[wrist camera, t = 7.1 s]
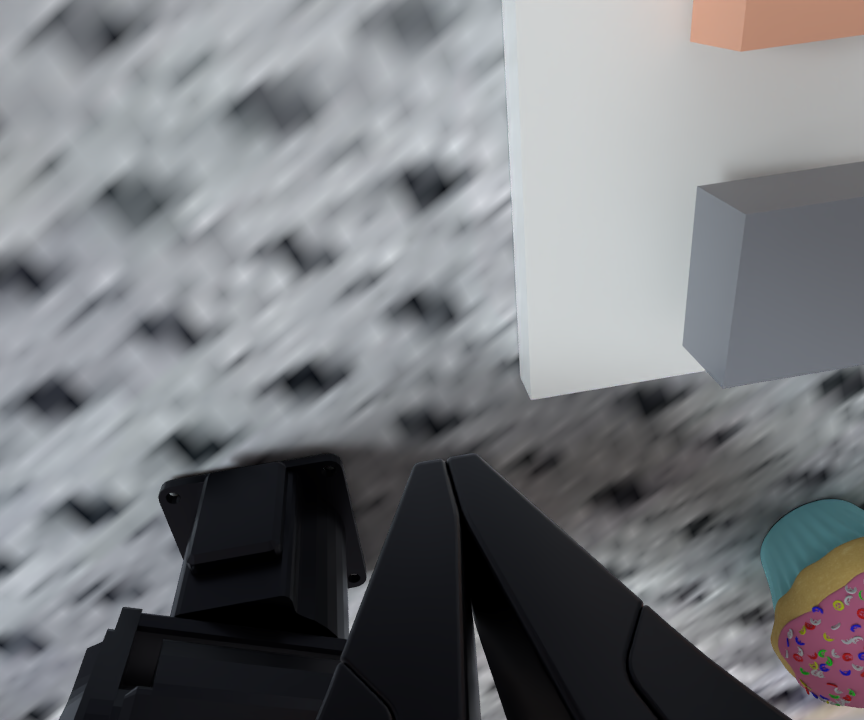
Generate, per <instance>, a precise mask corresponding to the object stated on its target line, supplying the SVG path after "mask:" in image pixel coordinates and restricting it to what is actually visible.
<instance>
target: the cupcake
mask: <svg viewBox="0 0 864 720" xmlns="http://www.w3.org/2000/svg"><path fill="white" fill-rule="evenodd" d="M760 556H761V562H762V566H763V568H764V571H765V574H766V577H767V580H768V583H769V587H770V591H771V595H772V601H773V607H774V612H775V621H774V626H773V630H772V634H771V644H772V647H773V649H774V651H775V653H776V654H777V656H778V657H779V659H780V660H781V662H782V663H783V665H784V666H785V668H786V669H787V670H788V671H789V672H790V673H791V675H793V676H794V677H795V678H796V679H797V681H798V683H799V684H800V685H801V686H802V687H803V688H805V689H806V691H807V694H808V695H809V691H810V692H811V693H812V694H813V696H814V697H815V698H817V699H818V697H819V699H820V700H822V701H823V702H827V703H828V704H829V703H830V704H832V705H837V706H840V705H841V706H850V707H856V708H864V510H862V509H861V508H859V507H857V506H855V505H854V504H852V503H850V502H847V501H843V500H838V499H826V500H819V501H815V502H811V503H808V504H805V505H803V506H801V507H799V508H797V509H795V510H793V511H791V512H790V513H788V514H787V515H785V516H784V517H783V518H781V519H780V520H779V521H778V522H777V523H776V524H775V525H774V526H773V527H772V528H771V530H770V531H769V532H768V534H767V535H766V537H765V539H764V541H763V544H762V547H761V554H760ZM823 699H824V700H823ZM828 701H829V702H828Z"/></svg>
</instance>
